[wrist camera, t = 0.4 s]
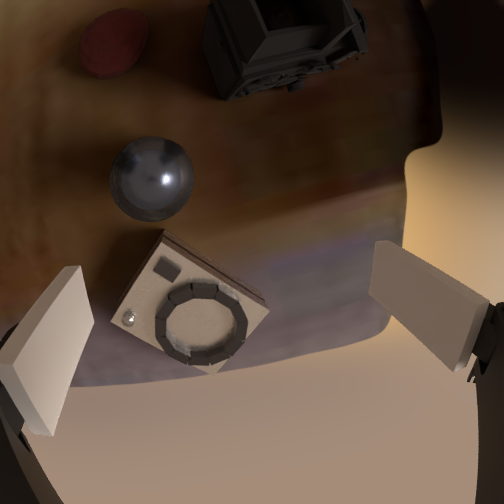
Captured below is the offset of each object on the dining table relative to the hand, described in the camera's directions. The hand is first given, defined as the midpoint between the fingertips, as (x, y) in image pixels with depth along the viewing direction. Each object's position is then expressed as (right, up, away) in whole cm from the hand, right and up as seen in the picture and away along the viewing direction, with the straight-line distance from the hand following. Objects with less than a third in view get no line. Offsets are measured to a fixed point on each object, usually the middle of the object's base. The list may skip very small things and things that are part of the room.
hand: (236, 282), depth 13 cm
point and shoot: (-7, -4, +25) cm, 26 cm away
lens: (-9, +10, +19) cm, 24 cm away
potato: (-14, +24, +14) cm, 31 cm away
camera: (+2, +23, +17) cm, 29 cm away
